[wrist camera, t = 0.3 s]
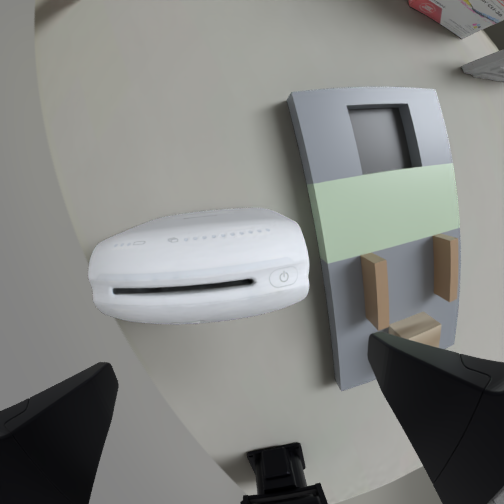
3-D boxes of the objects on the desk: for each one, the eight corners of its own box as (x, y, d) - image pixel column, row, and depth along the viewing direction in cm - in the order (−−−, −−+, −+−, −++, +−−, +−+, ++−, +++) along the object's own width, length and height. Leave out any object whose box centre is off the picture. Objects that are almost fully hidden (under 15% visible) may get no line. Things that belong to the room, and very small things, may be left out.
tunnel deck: (444, 336, 26) (466, 354, 21) (335, 379, 26) (349, 407, 21) (423, 94, 20) (451, 82, 16) (286, 100, 20) (298, 80, 16)
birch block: (421, 345, 23) (437, 360, 20) (388, 359, 23) (402, 376, 20) (423, 311, 22) (441, 324, 20) (388, 324, 22) (404, 340, 20)
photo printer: (276, 202, 22) (327, 219, 10) (280, 257, 23) (327, 329, 11) (146, 215, 21) (58, 246, 9) (153, 268, 22) (82, 343, 10)
